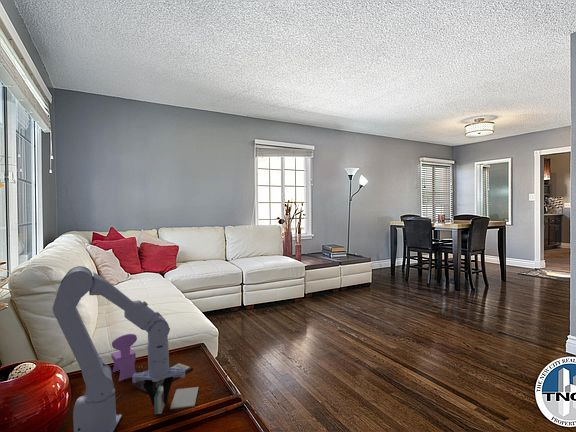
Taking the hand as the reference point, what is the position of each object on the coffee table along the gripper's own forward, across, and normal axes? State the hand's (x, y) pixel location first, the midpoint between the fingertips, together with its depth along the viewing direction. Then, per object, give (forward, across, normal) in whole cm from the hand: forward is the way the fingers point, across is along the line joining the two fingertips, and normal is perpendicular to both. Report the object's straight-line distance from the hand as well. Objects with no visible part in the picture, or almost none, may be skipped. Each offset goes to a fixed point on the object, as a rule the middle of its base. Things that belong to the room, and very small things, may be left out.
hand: (160, 402), depth 96 cm
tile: (+2, 0, 0) cm, 2 cm away
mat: (+1, +6, +4) cm, 8 cm away
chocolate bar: (+2, -3, +18) cm, 18 cm away
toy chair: (+2, -18, +24) cm, 30 cm away
